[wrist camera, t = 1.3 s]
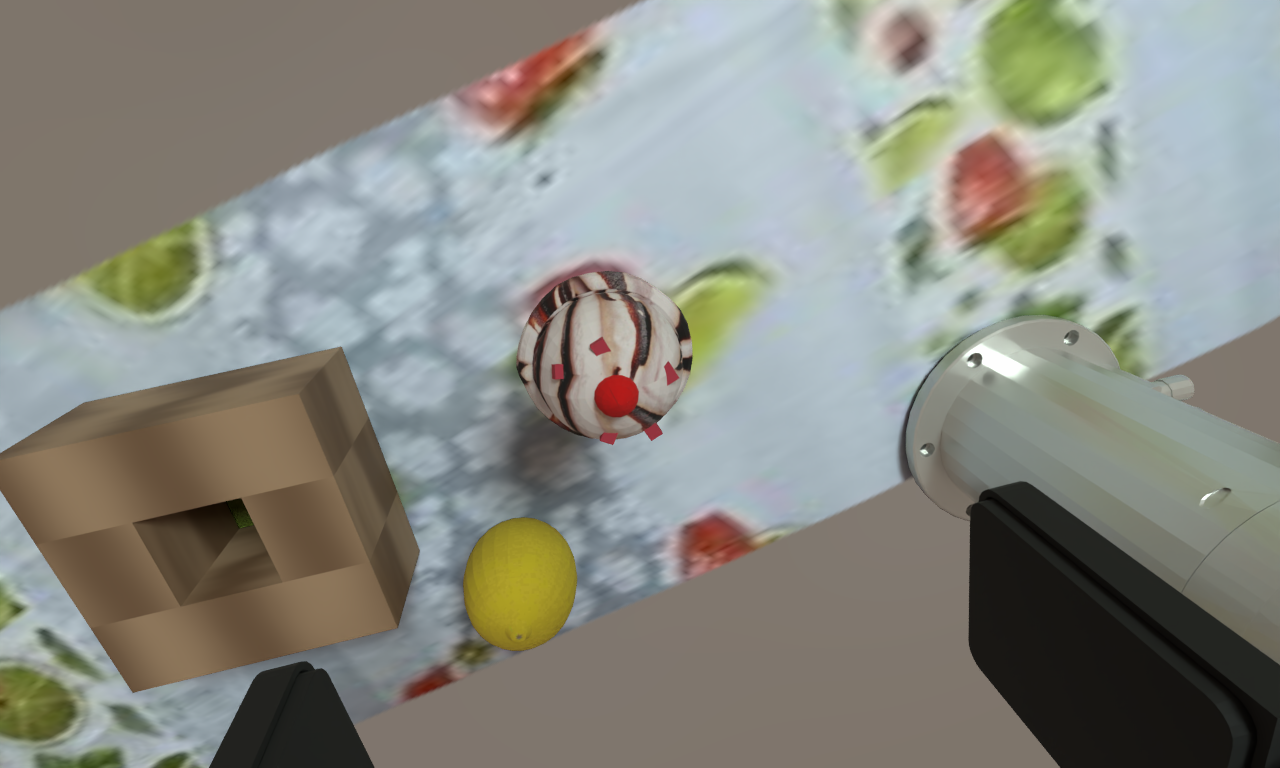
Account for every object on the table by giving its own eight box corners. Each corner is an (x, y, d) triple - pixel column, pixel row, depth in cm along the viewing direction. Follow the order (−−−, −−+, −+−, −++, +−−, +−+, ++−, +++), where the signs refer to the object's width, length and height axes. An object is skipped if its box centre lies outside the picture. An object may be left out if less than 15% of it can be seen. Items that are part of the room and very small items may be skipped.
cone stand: (341, 346, 31) (298, 393, 26) (419, 550, 36) (397, 627, 30) (83, 402, 31) (-18, 463, 25) (196, 603, 35) (132, 692, 30)
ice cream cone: (501, 265, 31) (469, 378, 17) (603, 198, 31) (653, 258, 17) (570, 360, 33) (590, 527, 19) (665, 299, 33) (756, 425, 19)
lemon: (523, 591, 38) (518, 704, 31) (450, 535, 36) (426, 641, 29) (593, 532, 37) (606, 633, 30) (523, 471, 35) (518, 563, 28)
